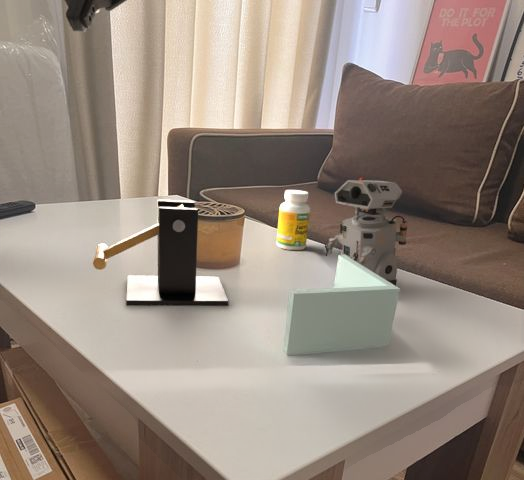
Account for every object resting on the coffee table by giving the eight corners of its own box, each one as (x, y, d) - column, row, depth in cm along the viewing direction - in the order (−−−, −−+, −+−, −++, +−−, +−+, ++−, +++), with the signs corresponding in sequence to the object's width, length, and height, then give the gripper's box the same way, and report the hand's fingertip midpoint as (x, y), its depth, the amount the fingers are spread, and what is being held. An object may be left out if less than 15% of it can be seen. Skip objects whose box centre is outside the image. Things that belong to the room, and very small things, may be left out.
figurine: (306, 277, 79) (319, 173, 72) (362, 269, 85) (380, 173, 78) (345, 297, 72) (363, 185, 66) (403, 288, 78) (426, 184, 72)
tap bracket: (126, 312, 61) (123, 210, 56) (127, 286, 69) (125, 194, 64) (227, 312, 64) (234, 215, 59) (218, 287, 72) (222, 199, 67)
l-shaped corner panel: (335, 311, 67) (344, 254, 64) (386, 353, 57) (400, 288, 54) (247, 317, 63) (252, 256, 60) (285, 363, 53) (294, 293, 50)
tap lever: (99, 275, 60) (88, 257, 59) (102, 259, 65) (92, 242, 64) (194, 230, 60) (185, 211, 59) (190, 218, 65) (181, 200, 64)
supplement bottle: (287, 240, 97) (292, 187, 93) (311, 247, 95) (318, 193, 90) (269, 245, 93) (275, 190, 89) (294, 252, 91) (301, 195, 86)
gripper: (55, -102, 69) (12, -8, 63) (151, -96, 68) (116, 1, 62) (76, -43, 76) (40, 47, 71) (164, -36, 75) (134, 55, 69)
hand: (76, 25), depth 66 cm, fingers closed
